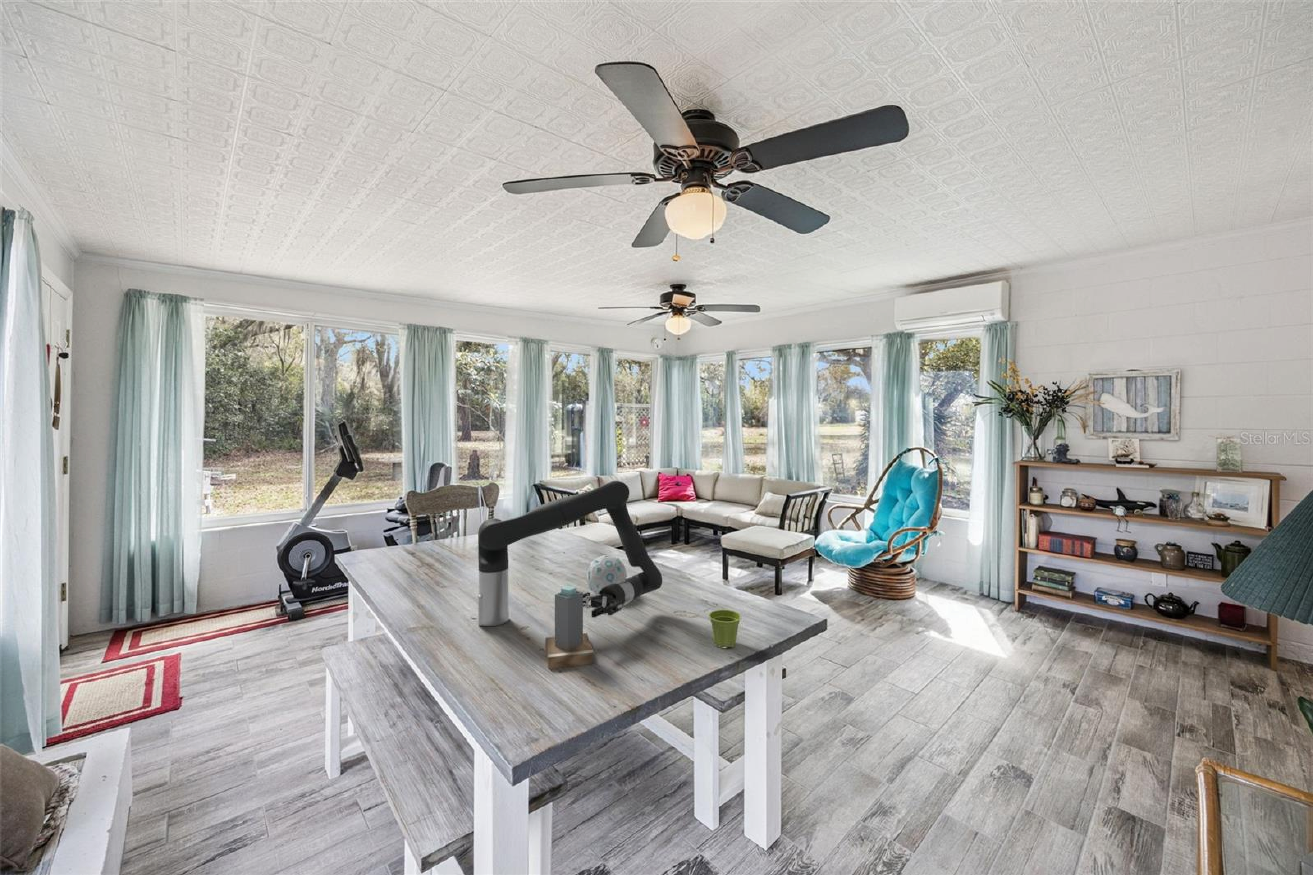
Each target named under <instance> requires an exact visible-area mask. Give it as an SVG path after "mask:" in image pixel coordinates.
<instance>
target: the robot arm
mask: <svg viewBox="0 0 1313 875" xmlns="http://www.w3.org/2000/svg"><path fill="white" fill-rule="evenodd" d="M629 498H630V489H629V486H628V485H627V484H626V483H624V482H623V481H620V480H612V481H610V482H607V483H605V484H603V485H601V486H598V487H595V488H594V489H591V490H589V491H585V492H582V493H576V494H573V495H569V496H566V497H562V498H558V499H553V500H552V501H548V502H545V503H543V504H540V505H539V506H537V507H534V509H531V510H530V511H528V512H526V513H524V514H521V515H520V516H516V517H514V518H509V519H506V520H501V519H499V518H495V517H493V518H489V519H486V520H484V521H483V522H482V523H481V524H480V526H479V528H478V532H477V534H478V536H477V541H478V543H477V544H478V554H477V555H478V599H477V600H478V602H477V604H478V610H477V611H478V626H485V627H496V626H500V625H503V624H505V623H508V621H509V619H510V616H509V610H510V609H509V607H510V606H509V605H510V604H509V603H510V602H509V599H510V598H509V550H508V546H510V545H513V544H515V543H516V542H519V541H520V540H523V539H526V538H528V537H532V536H536V535H540V534H544V533H547V532H549V531H553V530H556V529H561V528H562V527H566V526H569V525H570V524H572V523H575V522H578V521H580V520H581V519H583V518H585V517H586V516H589V515H590V514H592V513H595V512H598V511H602V510H606V512H607V514H608V515H609V517H610V519H611V522H612V523H613V525H614V526H615V530H616V531H617V533H618V534H617V535H618V537H619V539H620V542H621V545H622V547H623V550H624V553H625V556H626V558H627V561H628V563H629V565H630V566H631V567H633V568H637V567H638V568H640V569H641V570H642V571H641V572H638V573H637V574H634V575H633V576H630V577H627V578H626V579H625V580H622V581H618V582H615V583H613V584H610V585H608V586H606V587H603V588H602V589H601V590H600V592H599V594H595V593H594V595H591V592H585V593H583V608H586V609H592V610H591V618H594V619H595V618H597V617H599V616H601V615H606V614H607V616H612V615H615V614H616V613H618V612H619V611H621V610H622V609H623V607H624V606H625V605H628V604H629V603H630V602H632V601H634V600H637V599H638V598H639V597H641V596H642V595H645V594H648V593H650V592H653V591H656V590H659V589H660V588H661V587H662V585H663V576H662V573H661V572H660V570H659V568H658V567H657V565H656V564H655V563H654V561H653V560H652V559H651V557H650V556H649V554H648V551H647V548H646V546H645V544H644V541H643V539H642V537H641V534H640V533H639V531H638V529H637V528H636V526H635V525H634V522H633V520H632V519H631V516H630V513H629V511H628V507H627V502H628V501H629ZM589 602H590V604H589Z"/></svg>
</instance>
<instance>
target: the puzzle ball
mask: <svg viewBox="0 0 1313 875" xmlns="http://www.w3.org/2000/svg"><path fill="white" fill-rule="evenodd" d="M586 570H587V571H586V582H587V586H588V587H589V590H591V591H592V592H593V594H594V595H595V594H599V592H600V590H601V589H602V588H603V587H606V586H608V585H610V584H613V583H615V582H618V581H622V580H625V579H627V578H628V575H627V574H628V573H627V570H626V565H625V564H624V563H623V562H622V561H621V560H620V559H619V558H618V557H616V556H614V555H609V554H608V555H607V554H605V555H604V554H603V555H601V556H598V557H596V558H595V559H593V560H592V561H591V563H589V566H587V569H586Z"/></svg>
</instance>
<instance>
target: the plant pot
mask: <svg viewBox="0 0 1313 875" xmlns="http://www.w3.org/2000/svg"><path fill="white" fill-rule="evenodd" d="M708 617H709V621H710V623H711V628H712V634H713V642H714V645H715V646H716V647H717V646H720V647H732V648H734V647H735V646H736V644H737V636H738V629H739V624H740V621H741V619H742V615H741V614H740V613H739V612H737V611H734V610H729V609H717V610H713V611H711V612H710V613H709V614H708ZM733 646H734V647H733Z"/></svg>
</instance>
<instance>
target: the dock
mask: <svg viewBox="0 0 1313 875" xmlns="http://www.w3.org/2000/svg"><path fill="white" fill-rule="evenodd" d="M588 635H589V634H588V633H587V632H585V633H584V632H583V643H582V644H580V645H578V646H576V647H574V648H573V649H571V650H569V651H567V650H564V649H561V648H558V647H556V646H555V636H547V637H545V640H544V641H545V646H544V647H545V654H546V660H547V663H546V664H547V668H548V670H550V669H558V668H565V667H566V668H567V667H568V668H569V667H575V666H581V665H582V666H583V665H591V664H594V661H595V659H594V657H595V656H594V655H595V653H594V652H595V651H594V650H593V647H592V644H591V641H590V638H589V636H588Z"/></svg>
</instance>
